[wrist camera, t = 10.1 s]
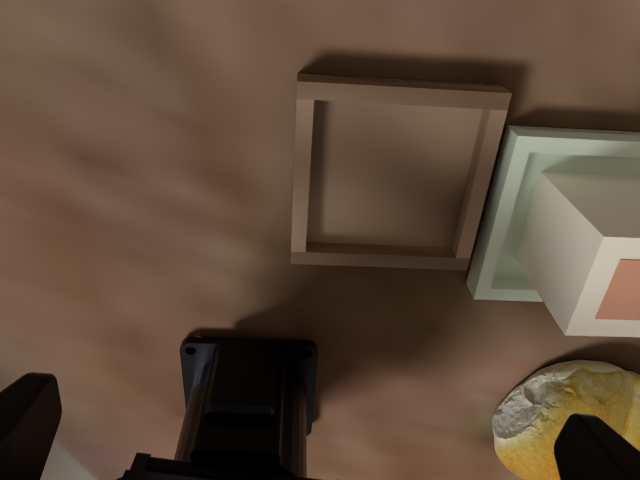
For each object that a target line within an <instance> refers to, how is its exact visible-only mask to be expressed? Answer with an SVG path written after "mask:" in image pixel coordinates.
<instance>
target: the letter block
mask: <svg viewBox="0 0 640 480" xmlns="http://www.w3.org/2000/svg"><path fill="white" fill-rule="evenodd" d="M515 259H516V260H517V262H518V263H519V265H520V266H521V268H522V269H523V271H524V273H525V274H526V276H527V277H528V279H529V280H530V282H531V283H532V285H533V287H534V288H535V290H536V291H537V293H538V294H539V296H540V298H541V299H542V301H543V302H544V304H545V305H546V307H547V308H548V310H549V312H550V313H551V315H552V316H553V318H554V319H555V321H556V322H557V324H558V326H559V327H560V329H561V330H562V332H563V333H564V335H572V336H610V337H640V176H631V175H608V174H584V173H561V172H540V174H539V177H538V181H537V184H536V187H535V191H534V194H533V197H532V201H531V204H530V207H529V211H528V214H527V217H526V221H525V224H524V227H523V231H522V234H521V237H520V241H519V244H518V247H517V251H516V254H515Z"/></svg>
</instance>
